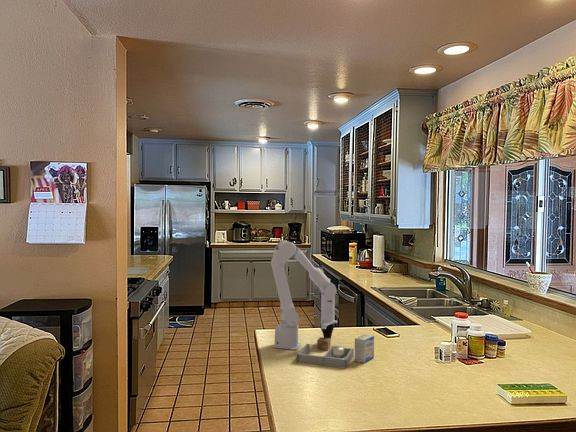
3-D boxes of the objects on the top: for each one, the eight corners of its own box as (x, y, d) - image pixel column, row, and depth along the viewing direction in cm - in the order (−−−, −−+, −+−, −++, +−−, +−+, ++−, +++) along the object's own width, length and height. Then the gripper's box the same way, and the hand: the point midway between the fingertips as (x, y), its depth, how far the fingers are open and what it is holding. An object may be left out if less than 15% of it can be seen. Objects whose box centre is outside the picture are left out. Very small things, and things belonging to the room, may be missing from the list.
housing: (296, 362, 171) (296, 354, 171) (307, 351, 184) (307, 343, 184) (346, 368, 165) (346, 360, 165) (353, 356, 178) (353, 348, 178)
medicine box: (364, 363, 170) (364, 340, 170) (354, 360, 173) (354, 338, 173) (374, 358, 176) (374, 335, 176) (363, 355, 179) (364, 333, 179)
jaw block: (317, 349, 186) (317, 340, 186) (319, 346, 190) (320, 337, 190) (327, 351, 185) (327, 341, 185) (330, 347, 189) (330, 338, 189)
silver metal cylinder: (331, 362, 171) (331, 348, 171) (334, 358, 176) (334, 345, 176) (342, 363, 170) (343, 350, 170) (345, 359, 174) (345, 346, 174)
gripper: (333, 314, 185) (332, 347, 185) (340, 307, 199) (340, 338, 199) (316, 313, 187) (316, 345, 188) (324, 306, 201) (324, 336, 201)
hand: (327, 341), depth 194 cm, fingers closed
